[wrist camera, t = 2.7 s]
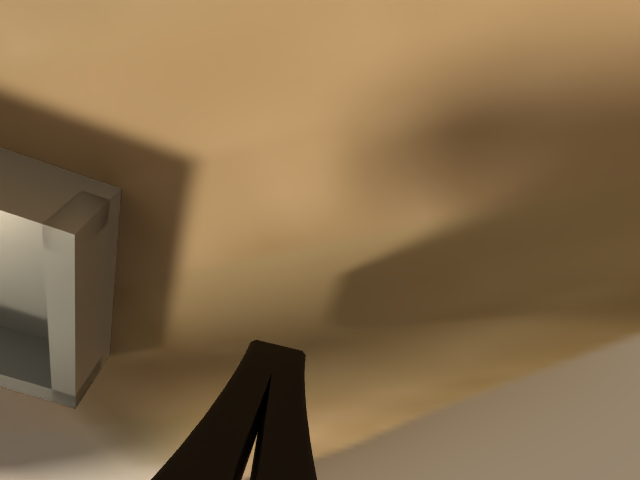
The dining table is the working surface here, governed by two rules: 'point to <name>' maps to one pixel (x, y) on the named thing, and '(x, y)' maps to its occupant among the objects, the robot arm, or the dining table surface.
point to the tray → (55, 277)
